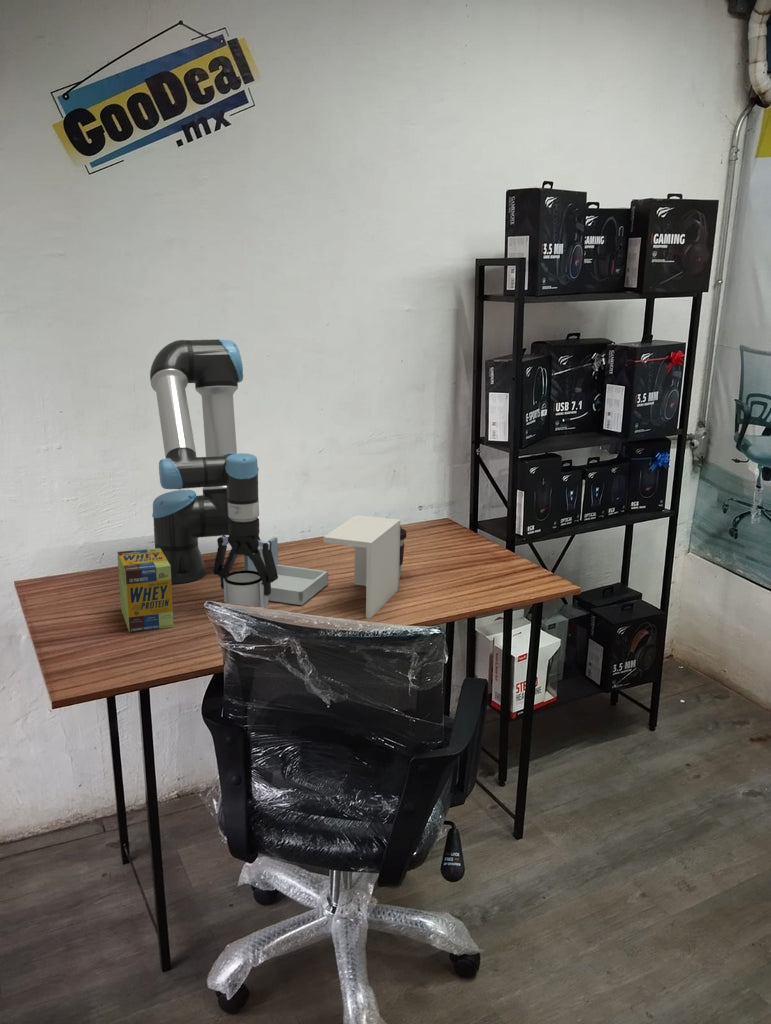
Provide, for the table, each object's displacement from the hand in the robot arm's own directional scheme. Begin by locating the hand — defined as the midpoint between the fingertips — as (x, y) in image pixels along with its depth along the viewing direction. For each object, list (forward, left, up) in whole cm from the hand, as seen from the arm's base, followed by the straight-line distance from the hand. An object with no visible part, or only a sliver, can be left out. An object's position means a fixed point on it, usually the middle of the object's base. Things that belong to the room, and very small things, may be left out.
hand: (246, 604), depth 212 cm
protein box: (-19, -14, -2) cm, 24 cm away
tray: (+4, +15, -1) cm, 16 cm away
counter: (+25, +17, -1) cm, 30 cm away
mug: (-1, 0, -2) cm, 2 cm away
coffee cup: (+25, +36, -2) cm, 44 cm away
